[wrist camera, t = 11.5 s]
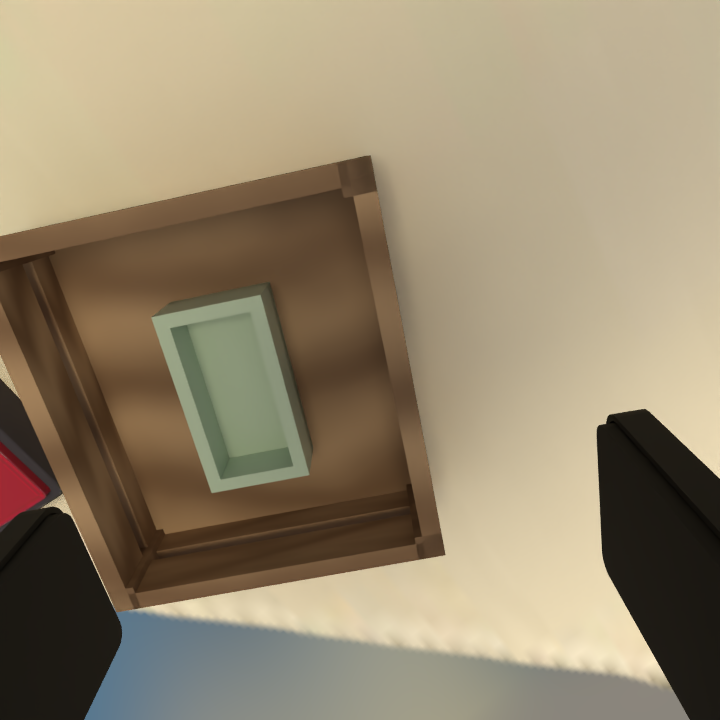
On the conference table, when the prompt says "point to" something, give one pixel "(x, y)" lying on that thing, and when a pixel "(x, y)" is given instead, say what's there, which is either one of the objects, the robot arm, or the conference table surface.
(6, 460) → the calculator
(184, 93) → the conference table surface
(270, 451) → the box
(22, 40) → the conference table surface
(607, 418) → the robot arm
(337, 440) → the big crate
